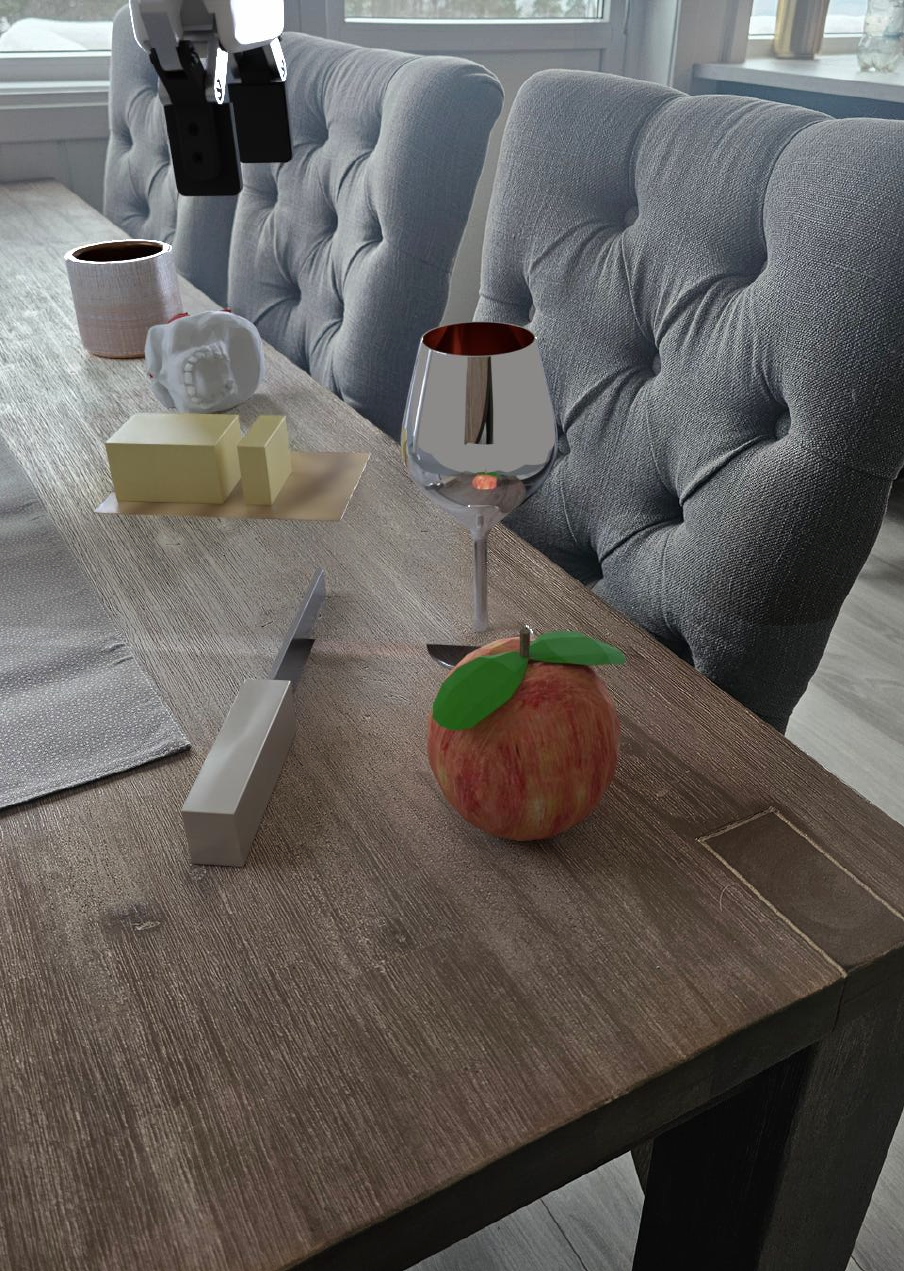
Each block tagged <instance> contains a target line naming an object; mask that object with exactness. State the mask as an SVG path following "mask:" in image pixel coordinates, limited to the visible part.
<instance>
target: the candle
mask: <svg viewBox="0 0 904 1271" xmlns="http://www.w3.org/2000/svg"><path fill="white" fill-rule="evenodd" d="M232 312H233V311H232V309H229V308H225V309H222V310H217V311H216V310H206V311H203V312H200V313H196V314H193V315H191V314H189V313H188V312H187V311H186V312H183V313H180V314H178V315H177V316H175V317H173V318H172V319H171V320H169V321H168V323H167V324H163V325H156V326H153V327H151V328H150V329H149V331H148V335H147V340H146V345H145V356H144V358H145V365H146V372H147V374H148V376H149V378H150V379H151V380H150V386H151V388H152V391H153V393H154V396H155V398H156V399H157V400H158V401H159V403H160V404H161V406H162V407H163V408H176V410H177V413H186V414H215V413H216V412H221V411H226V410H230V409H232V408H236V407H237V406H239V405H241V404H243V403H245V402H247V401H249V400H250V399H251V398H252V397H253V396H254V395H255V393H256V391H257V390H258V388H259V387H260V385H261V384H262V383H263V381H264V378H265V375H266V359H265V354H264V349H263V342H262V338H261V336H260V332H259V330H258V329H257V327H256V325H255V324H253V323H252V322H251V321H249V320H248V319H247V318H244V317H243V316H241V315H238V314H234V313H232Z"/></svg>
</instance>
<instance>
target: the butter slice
mask: <svg viewBox="0 0 904 1271" xmlns="http://www.w3.org/2000/svg"><path fill="white" fill-rule="evenodd" d="M237 451H238V458H239V465H240V472H241V479H242V486H243V494H244V501H245V504H246V505H272V504H273V502H274V501H275V499H276V497H277V496H278V494H279V492H280V491H281V489H282V487H283V486H284V484H285V482H286V481H287V479H288V477H289V475H290V474H291V472H292V467H291V458H290V451H291V450H290V441H289V434H288V424H287V417H286V415H279V414H278V415H276V414H275V415H273V414H272V415H271V414H260V415H259V416H258V417H257V418H256V420H255V421H254V422H253V424H252V425H251V427H250V428H249V429H248V431H247V432H246V433H245V435H244V436H243V437H242V440H241V441H240V443H239V444H238V445H237Z"/></svg>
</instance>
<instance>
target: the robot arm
mask: <svg viewBox="0 0 904 1271" xmlns="http://www.w3.org/2000/svg"><path fill="white" fill-rule="evenodd" d="M128 4H129V11H130V16H131V17H130V18H131V23H132V30H133V34H134V38H135V41H136V42H137V45H139V47H140V48H141V49H142V50H143V51H144V52H145V53H147V54H148V58H149V61H150V64H151V65H152V66H153V68H154V70H155V72H156V74H157V95H158V98H159V101H160V103H161V105H162V107H163V113H164V119H165V120H164V121H165V126H166V132H167V137H168V138H167V139H168V144H169V150H170V156H171V162H172V168H173V175H174V179H175V186H176V187H175V188H176V191H177V192H178V194H180V196H182V197H234V196H237V195H239V194H241V193H242V192H243V189H244V178H243V172H242V164H285V163H287V164H288V163H289V162H291V161H292V160H293V159H294V158H295V147H294V146H295V145H294V138H293V137H294V136H293V128H292V119H291V118H292V117H291V110H290V99H289V91H288V90H289V89H288V81H287V80H286V78H287V66H286V61H285V58H284V54H283V51H282V48H281V42H283V37H281V35H283V30H284V25H285V18H284V17H285V11H284V9H285V8H284V0H128ZM201 59H205V67H204V65H203V62H202V61H201ZM227 65H228V66H227ZM227 67H228V68H229V70H230V73H231V75H232V78H233V80H234V82H228V83H227V84H226V79H227V78H226V76H227ZM285 80H286V81H285ZM225 86H227V93H228V100H229V101H226V102H225V101H224V97H225V89H226V88H225ZM241 163H242V164H241Z"/></svg>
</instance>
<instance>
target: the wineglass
mask: <svg viewBox="0 0 904 1271" xmlns="http://www.w3.org/2000/svg"><path fill="white" fill-rule="evenodd" d="M542 358H543V357H542V355H541V350H540V346H539V343H538V339H537V335H536V334H535V332H533V331H532V330H531V329H529V328H526V327H524V326H520V325H518V324H514V323H507V322H499V321H484V320H483V321H481V320H480V321H461V322H453V323H449V324H444V325H440V326H437V327H434V328H432V329H429V330H427V331H425V333H423V334H422V335H421V337H420V341H419V344H418V348H417V352H416V356H415V361H414V364H413V370H412V374H411V379H410V383H409V387H408V392H407V397H406V403H405V407H404V413H403V418H402V419H403V420H402V424H401V433H400V453H401V458H402V462H403V465H404V468H405V470H406V472H407V474H408V476H409V478H410V479H411V480H412V482H413V484H414V485H415V486H416V487H417V489H418V490H419V491H420V492H421V493H422V494H423V495H424V496H425V497H426V498H427V499H428V500H429V501H431V502H432V503H433V504H434V505H436V506H437V507H439V508H440V509H442V510H443V511H444V512H446V513H448V514H449V515H451V516H452V517H454V518H455V519H456V520H458V522H460V523H461V524H462V525H463V526H465V528H466V529H467V531H468V532H469V533H470V535H471V537H472V564H473V566H472V568H473V571H472V574H473V614H472V624H471V629H472V630H473V632H477V633H484V632H485V633H486V632H487V631H489V630H490V628H491V627H490V622H489V608H488V606H489V605H488V539H489V538H488V537H489V535H490V534H491V531H492V530H493V528H494V527H495V526H496V525H497V524H498V523H500V521H501V520H503V519H504V518H505V517H507V516H509V515H510V514H511V513H513V512H514V511H516V510H517V509H518V508H520V507H521V506H522V505H524V504H525V503H526V502H528V501H529V500H530V499H531V498H532V497H533V496H534V495H535V494H537V493H538V491H539V490H540V489H541V488H542V486H543V485H544V484H545V482H546V481H547V479H548V478H549V476H550V475H551V473H552V471H553V469H554V466H555V464H556V460H557V456H558V450H559V434H558V426H557V425H558V424H557V419H556V415H555V409H554V405H553V400H552V396H551V391H550V386H549V383H548V378H547V374H546V370H545V366H544V362H543V359H542ZM525 628H527V629H529V630H530V637H534V638H536V637H535V634H534V632H533V631H532V629H531V628H530V627H529V626H528V624H526V625H525ZM481 647H483V646H477V645H457V644H456V645H455V644H435V643H433V644H432V643H426V650H427V652H428V654H429V655H430V657H431V658H432V659H433V660H434V661H435V662H437V663H438V664H439V665H441V666H443V667H444V668H447V669H449V670H452V669H453V668H454V667H455V666H456V665H457V664H458V663H459V662H460V661H461V660H462V659H463V658H464V657H465V656H467V655H468V654H469V653H471V652H473V651H475V650H477V649H479V648H481Z"/></svg>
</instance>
